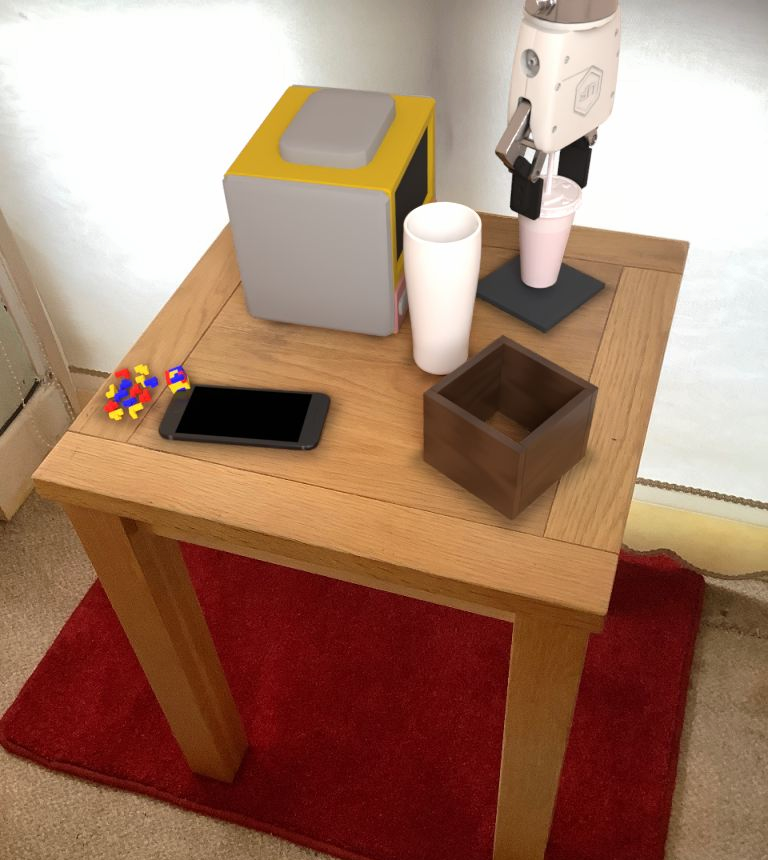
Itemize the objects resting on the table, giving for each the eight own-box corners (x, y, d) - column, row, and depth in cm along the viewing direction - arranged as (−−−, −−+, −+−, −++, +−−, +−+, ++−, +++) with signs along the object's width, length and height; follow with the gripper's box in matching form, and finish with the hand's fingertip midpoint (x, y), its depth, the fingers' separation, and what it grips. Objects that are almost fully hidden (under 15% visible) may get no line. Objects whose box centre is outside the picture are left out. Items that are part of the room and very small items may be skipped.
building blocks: (105, 422, 80) (114, 434, 81) (185, 391, 80) (193, 403, 81) (101, 377, 84) (110, 389, 85) (178, 347, 84) (185, 359, 85)
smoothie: (502, 290, 89) (511, 160, 78) (514, 255, 93) (525, 126, 82) (564, 300, 87) (583, 168, 77) (575, 263, 91) (594, 133, 81)
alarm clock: (398, 357, 85) (392, 182, 71) (247, 335, 88) (213, 163, 74) (442, 245, 97) (444, 77, 83) (307, 230, 100) (288, 64, 86)
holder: (585, 456, 76) (599, 387, 70) (512, 520, 72) (519, 453, 65) (497, 402, 81) (502, 334, 74) (423, 460, 76) (422, 392, 70)
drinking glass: (399, 378, 83) (394, 240, 72) (414, 333, 88) (412, 197, 76) (468, 387, 82) (475, 249, 71) (480, 342, 86) (488, 204, 75)
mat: (604, 288, 91) (605, 283, 91) (545, 333, 87) (545, 328, 86) (529, 251, 96) (529, 247, 95) (469, 292, 92) (469, 288, 91)
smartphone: (179, 386, 84) (177, 379, 83) (333, 397, 82) (332, 390, 81) (156, 441, 79) (153, 434, 78) (317, 455, 77) (316, 448, 76)
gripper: (541, 40, 64) (521, 252, 78) (673, -29, 71) (633, 176, 85) (464, 15, 67) (458, 222, 81) (597, -48, 75) (571, 151, 89)
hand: (548, 197), depth 83 cm, fingers closed on smoothie, 6 cm apart
